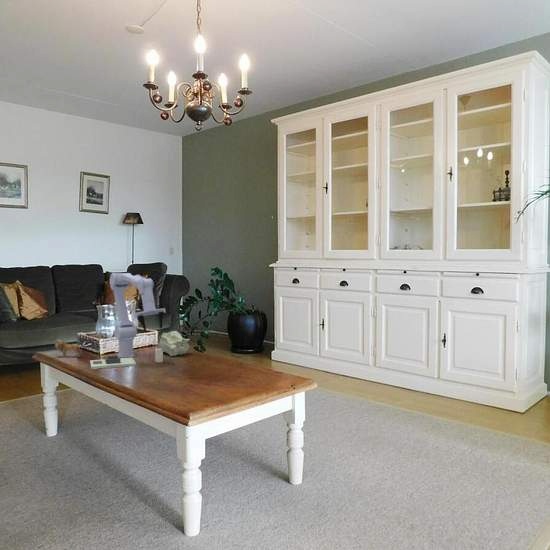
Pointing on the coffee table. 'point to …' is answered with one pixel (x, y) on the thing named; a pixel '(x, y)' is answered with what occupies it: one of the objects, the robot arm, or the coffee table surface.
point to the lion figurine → (67, 348)
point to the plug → (159, 355)
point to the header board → (112, 362)
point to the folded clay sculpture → (173, 343)
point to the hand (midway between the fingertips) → (153, 329)
